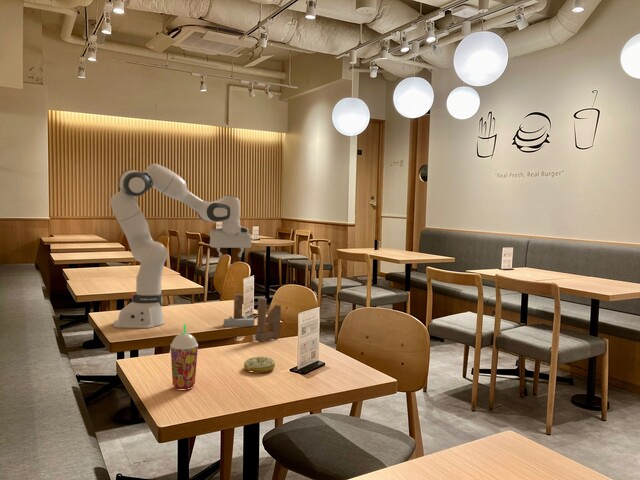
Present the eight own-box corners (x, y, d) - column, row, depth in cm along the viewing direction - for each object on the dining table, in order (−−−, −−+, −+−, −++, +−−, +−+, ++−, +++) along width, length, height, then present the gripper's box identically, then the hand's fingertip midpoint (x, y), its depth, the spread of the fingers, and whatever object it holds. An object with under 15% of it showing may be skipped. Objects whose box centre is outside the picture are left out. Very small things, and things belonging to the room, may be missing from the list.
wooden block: (280, 338, 230) (281, 297, 229) (260, 342, 223) (261, 299, 222) (274, 336, 233) (276, 295, 232) (254, 340, 226) (255, 298, 225)
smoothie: (165, 387, 167) (165, 323, 165) (188, 381, 172) (189, 320, 171) (178, 394, 161) (179, 329, 159) (202, 388, 167) (203, 325, 165)
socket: (224, 326, 248) (224, 320, 247) (222, 322, 256) (222, 316, 256) (254, 325, 251) (254, 319, 251) (251, 321, 260) (251, 315, 259)
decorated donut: (241, 366, 191) (242, 356, 190) (271, 364, 194) (271, 354, 193) (246, 375, 181) (246, 364, 180) (277, 373, 184) (277, 362, 183)
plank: (234, 324, 253) (235, 295, 252) (233, 322, 256) (234, 294, 256) (242, 324, 254) (242, 295, 253) (240, 322, 257) (241, 293, 256)
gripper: (209, 228, 256) (209, 257, 257) (252, 229, 262) (251, 257, 263) (209, 227, 262) (208, 255, 263) (250, 228, 268) (249, 256, 269)
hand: (230, 256), depth 263 cm, fingers open, 8 cm apart
